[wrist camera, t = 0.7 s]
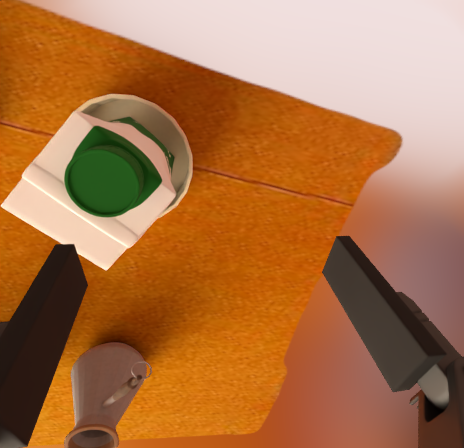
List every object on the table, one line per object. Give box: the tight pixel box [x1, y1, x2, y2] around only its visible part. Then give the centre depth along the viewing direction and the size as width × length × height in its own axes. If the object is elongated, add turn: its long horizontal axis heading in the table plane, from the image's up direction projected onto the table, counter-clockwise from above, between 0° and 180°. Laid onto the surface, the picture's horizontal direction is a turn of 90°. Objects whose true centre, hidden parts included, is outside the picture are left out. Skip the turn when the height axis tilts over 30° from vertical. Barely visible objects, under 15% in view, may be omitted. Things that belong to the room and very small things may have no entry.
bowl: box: [70, 94, 193, 218], centre depth 32 cm, size 14×14×4 cm
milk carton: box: [1, 111, 176, 270], centre depth 24 cm, size 9×9×20 cm
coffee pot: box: [64, 342, 152, 448], centre depth 37 cm, size 21×12×15 cm, turn 147°
